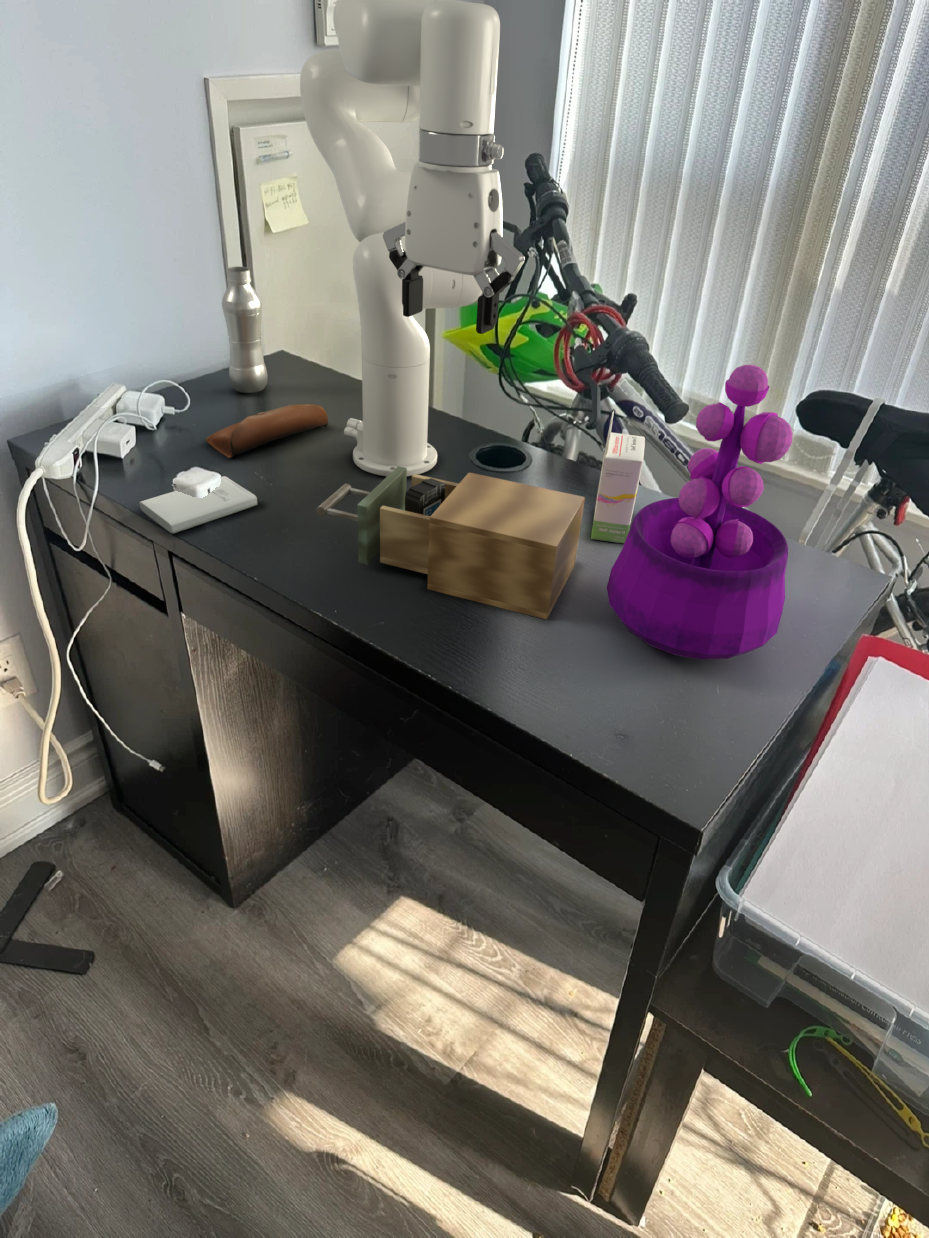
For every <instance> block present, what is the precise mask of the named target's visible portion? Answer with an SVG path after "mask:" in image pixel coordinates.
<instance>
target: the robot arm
mask: <svg viewBox="0 0 929 1238" xmlns="http://www.w3.org/2000/svg"><path fill="white" fill-rule="evenodd" d="M332 21H333V22H332V23H333V28H334V32H335V35H336V37H337V42H338V48H331V49H325V50H320V51H318V52H316V53H313V54H312V55H310V56H309V57H308V58H307V59H306V61H305V62H304V63H303V64H302V67H301V71H300V77H299V92H300V94H299V95H300V102H301V107H302V112H303V115H304V119H305V123H306V125H307V128H308V131H309V134H310V136H311V139H312V141H313V143H314V144H315V146H316V148H317V150H318V152H319V153H320V155H321V156H322V158H323V159H324V161H325V163H326V165H327V166H328V167H329V169H330V171H331V173H332V175H333V177H334V180H335V183H336V187H337V190H338V194H339V197H340V200H341V204H342V206H343V210H344V213H345V216H346V220H347V223H348V226H349V229H350V231H351V233H352V234H353V237H354V238H355V239H356V240H357V242H358V244H357V246H356V247H355V249H354V252H353V255H352V272H353V280H354V285H355V286H354V287H355V291H356V298H357V304H358V311H359V322H360V323H359V324H360V341H361V343H360V344H361V345H360V348H361V392H362V393H361V394H362V399H361V400H362V420H360V419H356V418H353V417H350V418H348V420H347V421H346V427H345V428H344V430H343V435H344V436H345V437H348V438H351V439H355V440H356V445H355V447H354V448H353V451H352V460H353V462H354V464H355V465H356V466H357V467H358V468H360V469H361V470H363V471H365V472H367V473H369V474H371V475H376V476H381V477H387V476H388V475H389V474H390V473H392V472H393V471H394V470H395V469H396V468H397V467H398V466H400V467H404V468H407V477H412V476H413V475H414V474H417V475H421V474H424V473H426V472H429V471H430V470H432V469H433V468H434V467H435V466H436V465H437V463H438V451H437V450H436V447H434V446H433V445H431V444H430V443H429V442H428V429H429V428H428V427H429V395H430V394H429V393H430V366H431V365H430V360H431V344H430V340H429V337H428V334H427V333H426V331H425V329H424V328H423V327H422V326H421V325H420V324H419V322H418V321H417V320H416V319H415V317H414V315H417V314H420V313H422V312H423V310H430V309H431V310H432V309H452V308H461V307H467V306H470V305H472V304H474V303H475V302H477V306H476V307H477V308H476V322H475V331H476V333H477V334H480V335H483V334H486V333H488V332H489V331H492V330H494V328H495V327H496V324H497V322H498V319H499V318H498V317H499V307H500V305H499V304H500V294H501V293H503V292H504V290H505V289H506V288H508V287H509V286H510V285H511V284H512V283H513V282H514V281H515V280H516V278H517V275H518V274H519V272H520V270H521V268H522V267H523V265H524V263H525V260H526V257H525V256H524V254H523V253H521V251H519V250H518V249H517V248H516V247H515V246H514V245H512V244H511V243H510V242H509V241H508V240H506V239H505V238H504V237H503V228H504V227H503V224H504V223H503V221H504V219H503V196H502V186H501V179H500V178H501V177H500V172H499V169H495V168H492V165H493V164H494V161H495V160H501V159H502V158H503V155H504V146H503V145H502V144H499V143H497V142H496V141H495V138H496V136H495V134H494V128H495V115H496V99H497V97H496V96H497V84H498V71H499V70H498V69H499V56H500V55H499V54H500V53H499V52H500V35H501V22H500V21H501V20H500V15H499V13H498V11H497V10H496V9H495V8H494V7H493V6H491V5H489V4H486V3H477V2H472V1H471V2H469V1H463V0H336V2H335V5H334V8H333V13H332ZM418 119H419V120H418ZM417 120H418V121H419V122H418V128H419V129H418V162H417V161H416V162H415V163H413V167H412V171H403V170H399V169H397V168H396V165H395V162H394V160H393V156H392V154H391V151H390V150H389V148H388V146H387V145H386V144H385V143H384V142H383V141H382V139H381V138H380V137H379V136H378V135H377V134H376V133H374V131H372V130H371V129H369V128H368V127H367V126H366V125H364V124H363V123H365V122H367V123H400V124H401V123H402V124H403V123H412V122H415V121H417ZM361 122H363V123H361ZM502 259H503V260H504V263H505V265H504V267H503V270H502V271H501V273H499V272H498V270H497V269H496V268H498V267H499V266H500V265H501V263H502Z"/></svg>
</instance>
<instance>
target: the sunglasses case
mask: <svg viewBox="0 0 929 1238" xmlns="http://www.w3.org/2000/svg"><path fill="white" fill-rule="evenodd" d="M328 425H329V417H328V413H327V412H326V409H324V407H322V406H321V405H319V404H315V403H314V404H312V403H298V404H291V405H285V406H281V407H277V408H274V409H270V410H266V411H262V412H257V413H256V414H254V415H253V414H252V415H249V416H247V417H245V418H244V419H243V420H241V421H240V422H237V423H233V424H231V425H229V426H227V427H224V428H221V429H219V430H217V431H215V432H214V433H212V434H211V435H209V436H207V438H205V442H206V443H207V444H208V445H209V446H210V447H211V448H213V449H214V450H215V451H216V452H218V453H220V454H221V455H222V456H224V457H226V458H228V459H232V458H233V457H234V456H235V455H236V456H238V455H241V454H243V453H245V452H248V451H251V450H253V449H256V448H257V447H259V446H263V445H266V444H267V443H270V442H271V441H277V440H279V439H283V438H287V437H289V436H292V435H294V434H299V433H302V432H306V431H308V430H312V429H314V428H318V427H325V428H326V427H327V426H328Z"/></svg>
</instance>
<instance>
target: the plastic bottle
mask: <svg viewBox="0 0 929 1238" xmlns="http://www.w3.org/2000/svg"><path fill="white" fill-rule="evenodd" d="M250 269H251V268H249V267H246V266H238V265H237V266H230V267H227V268H226V276H227V278H226V281H227V282H228V286H227V288H226V290H225V291H224V293H223V295H222V300H221V309H222V313H223V316H224V321H225V325H226V330H227V335H228V336H227V337H228V342H229V344H228V345H229V367H228V378H229V382H230V386H231V387H232V388H233V389H234V391H236V392H239V393H244V394H253V393H258V392H261V391H263V390H264V389H265V388H266V387H267V385H268V378H269V377H268V376H269V375H268V370H267V366H266V363H265V358H264V352H263V347H262V337H261V336H262V330H261V329H262V305H263V304H262V300H261V298H260V296H259V294H258V292H257V291H256V290H255V289H254V287H253V286H252V285H251V282H252V277H251V270H250Z"/></svg>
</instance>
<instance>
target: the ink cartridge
mask: <svg viewBox="0 0 929 1238" xmlns="http://www.w3.org/2000/svg"><path fill="white" fill-rule="evenodd" d="M432 478H433V477H431V478H430V479H425V480H423V481H422V482H421V483H419V484H417V485H415V486H412V485H411V486H410V487H408V490H406V495H405V511H409V512H413V513H418V514H422V515H426V516H431V515H432V514H433V513H434V512H435V511H436V509H437V508H438V507H439V506H440V505H441V504H442V503H443V501H444V500H445V483H443V482H440V481H438V480H435V479H436V478H435V479H432Z"/></svg>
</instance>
